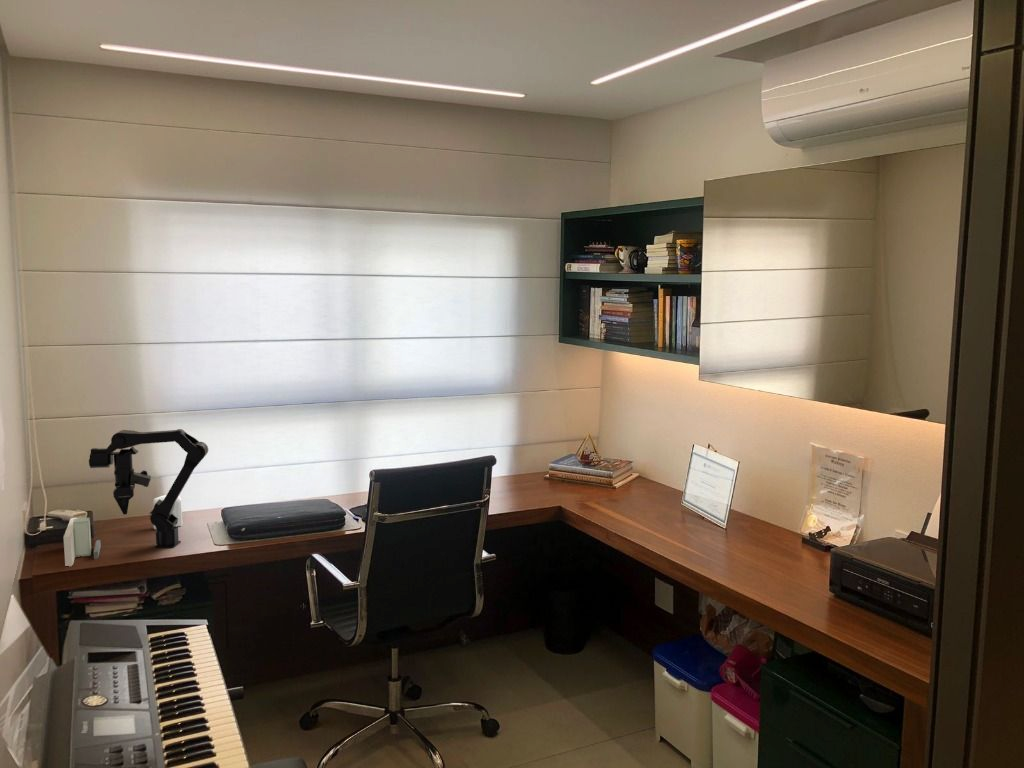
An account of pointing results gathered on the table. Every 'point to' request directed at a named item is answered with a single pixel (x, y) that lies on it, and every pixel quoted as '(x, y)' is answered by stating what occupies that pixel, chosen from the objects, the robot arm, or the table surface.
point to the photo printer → (176, 511)
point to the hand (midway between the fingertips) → (125, 511)
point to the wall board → (70, 547)
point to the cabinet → (82, 537)
